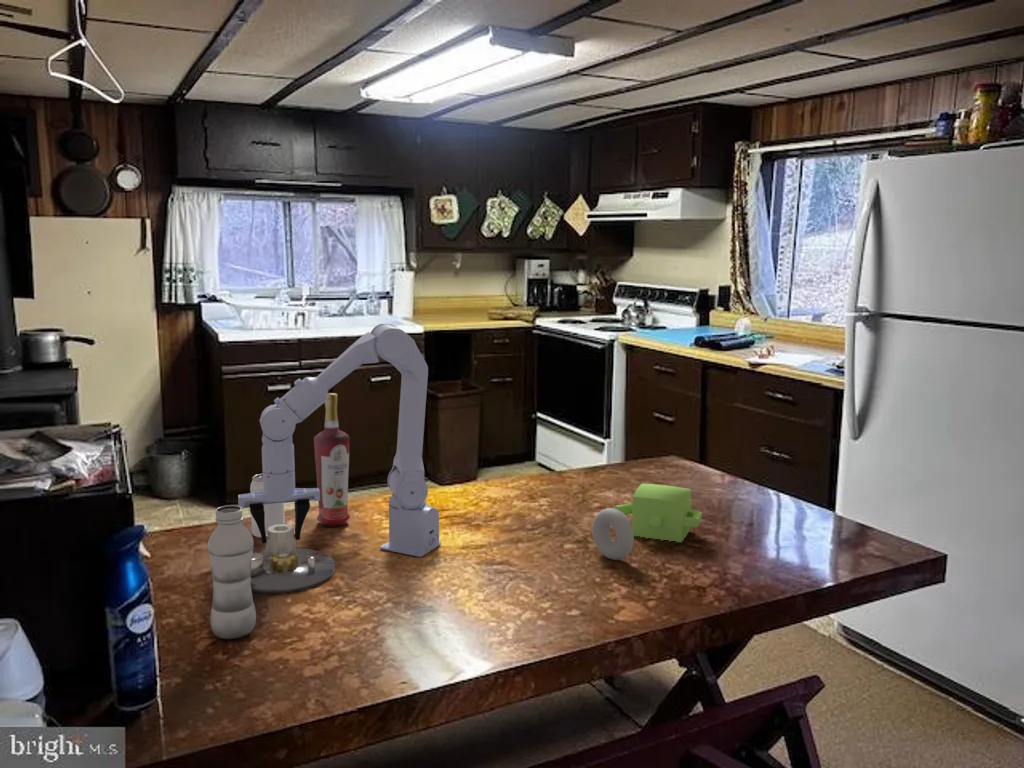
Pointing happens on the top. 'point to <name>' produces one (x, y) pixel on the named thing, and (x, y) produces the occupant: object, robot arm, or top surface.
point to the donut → (622, 531)
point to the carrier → (290, 570)
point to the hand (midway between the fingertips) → (281, 539)
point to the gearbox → (661, 512)
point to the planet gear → (280, 539)
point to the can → (266, 509)
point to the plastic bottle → (231, 575)
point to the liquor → (332, 468)
